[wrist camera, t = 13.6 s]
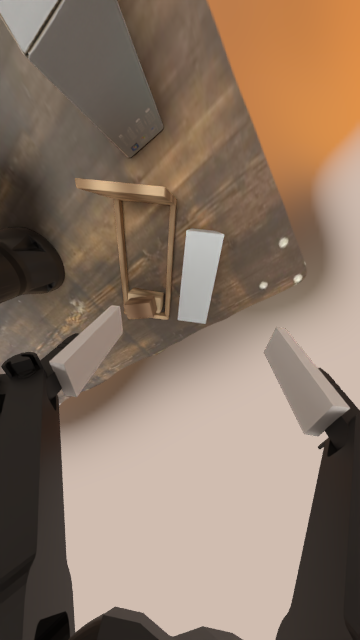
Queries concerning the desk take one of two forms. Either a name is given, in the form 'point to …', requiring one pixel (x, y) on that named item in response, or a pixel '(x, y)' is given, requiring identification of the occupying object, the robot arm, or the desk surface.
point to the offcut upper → (141, 307)
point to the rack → (118, 194)
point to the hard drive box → (88, 63)
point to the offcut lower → (143, 293)
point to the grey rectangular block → (199, 273)
